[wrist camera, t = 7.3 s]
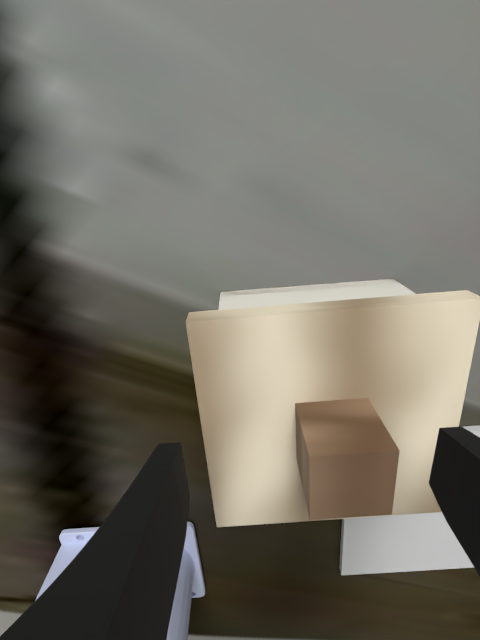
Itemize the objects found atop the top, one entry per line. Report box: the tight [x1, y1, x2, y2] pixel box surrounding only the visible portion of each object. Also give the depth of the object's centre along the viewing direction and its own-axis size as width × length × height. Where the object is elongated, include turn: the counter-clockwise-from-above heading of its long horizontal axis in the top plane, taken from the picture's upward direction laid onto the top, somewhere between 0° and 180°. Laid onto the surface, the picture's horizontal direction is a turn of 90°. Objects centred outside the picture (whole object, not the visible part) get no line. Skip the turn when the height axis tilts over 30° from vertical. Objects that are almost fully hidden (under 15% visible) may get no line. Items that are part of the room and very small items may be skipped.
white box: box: [218, 279, 415, 310], centre depth 18 cm, size 9×9×4 cm
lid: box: [186, 290, 480, 527], centre depth 14 cm, size 11×11×4 cm
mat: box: [339, 425, 480, 575], centre depth 24 cm, size 13×13×1 cm
